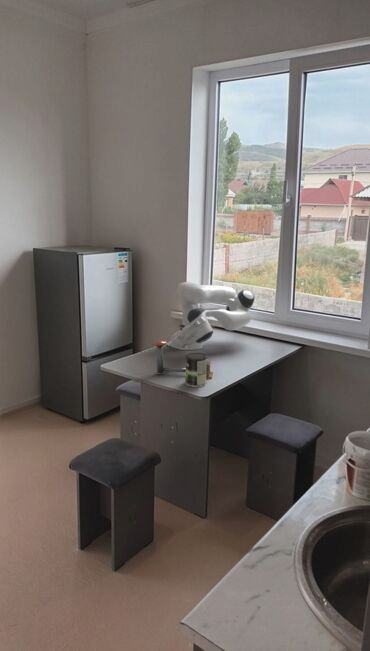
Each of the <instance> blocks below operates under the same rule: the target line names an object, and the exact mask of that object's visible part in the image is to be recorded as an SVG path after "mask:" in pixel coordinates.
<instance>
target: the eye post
mask: <svg viewBox="0 0 370 651" xmlns="http://www.w3.org/2000/svg"><path fill="white" fill-rule="evenodd" d="M213 374H214V372H213V371H211V361H210V360H207V362H206V380H212V379H213Z"/></svg>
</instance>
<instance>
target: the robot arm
mask: <svg viewBox="0 0 370 651" xmlns="http://www.w3.org/2000/svg"><path fill="white" fill-rule="evenodd" d="M176 292H177V295H178V298H179V303H180V305H181V313H182V315H181V316H182V318H181V319H182V323H181V324H179V325H178V328H179V330H177V331H176V332H175V333H174V334H173V333H172V336H171V339H170V341H169V342H167V343H166V346H167V345H168V347H170V346H171V347H170V348H174V349H177V350H181V351H193V350H194V351H195V350H201V349H203V348H204V345H203V343H204V342H206V341H208V340H209V339H211V338H212V336H213V334H214V330H213V328H212V326H211V324H210V322H209V319H208V318H214V319H216V321H218V322H219V324H220V325H221V327H223V328H224V330H228V331H235V330H238V329H241V328H243V327H245V326H246V325H248V324H249V323H251V318H252V316H251V314H250V312H249V311H250V309H251V308H252V306H253V304H254V302H255V295H254V293H253V292H252V291H251V290H248V289H242V290H240V292H238V294H237V291H236V290H235V289H234V288H233V287H230V286H225V285H218V284H217V285H215V284H197V283H194V282H190V281H185V282H183V281H182V282H180V283H179V284H178V285H177V288H176ZM200 304H201V305H202V304H217V305H218V304H219V305H226V307H225V308H223V307H211V308H210V307H209V308H207V307H206V308H200V307H199V305H200Z"/></svg>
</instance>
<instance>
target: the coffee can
mask: <svg viewBox="0 0 370 651" xmlns="http://www.w3.org/2000/svg"><path fill="white" fill-rule="evenodd" d="M207 359H208V355H207V354H205V353H203V352H189V353H186V354H185V368H186V372H185V385H186V386H188V387H191V386H192V388H200V387H204V386H206V384H207V379H206V362H207V361H208V360H207Z"/></svg>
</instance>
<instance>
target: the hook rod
mask: <svg viewBox="0 0 370 651" xmlns="http://www.w3.org/2000/svg"><path fill="white" fill-rule="evenodd" d="M152 342H153V343H152V344H153V346H156V374H157V373H160V374H159V375H162V374H161V373H163V374H164V372H165V373H166V372H168V373H169V372H170V373H186V367H184V368H182V367H181V368H180V367H164V346H167V341H166V340H164V339H156V340H153V341H152Z"/></svg>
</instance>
